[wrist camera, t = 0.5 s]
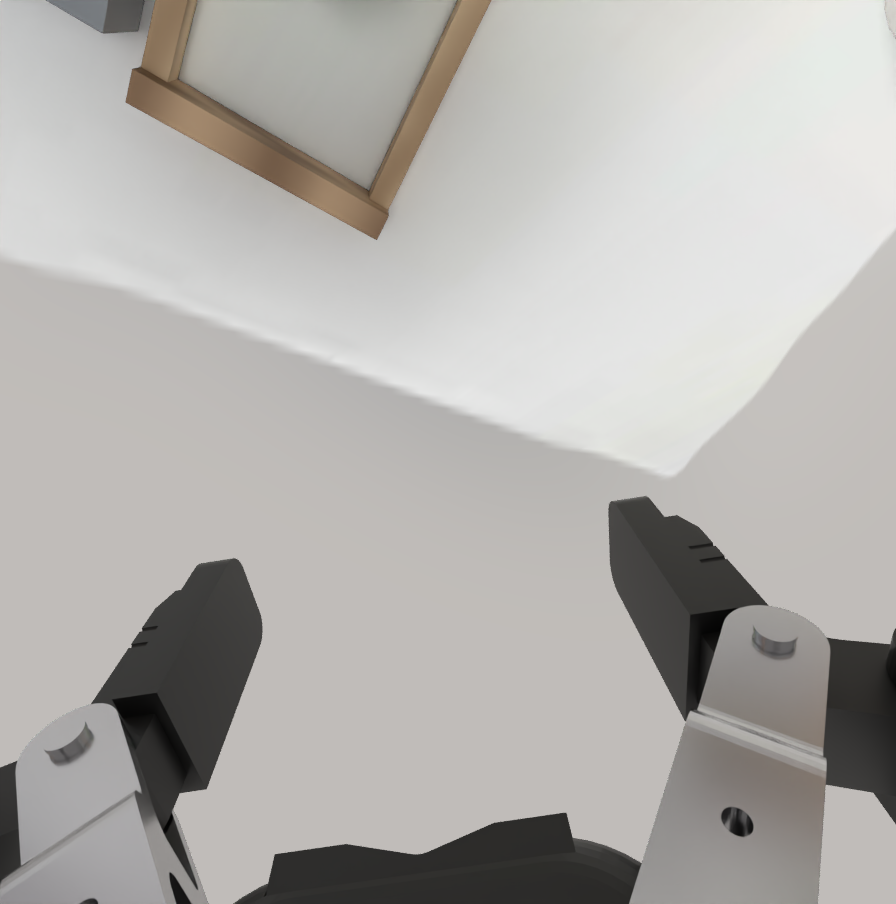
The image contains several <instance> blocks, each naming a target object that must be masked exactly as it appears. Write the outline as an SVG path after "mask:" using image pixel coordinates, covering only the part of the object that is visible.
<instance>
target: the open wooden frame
mask: <svg viewBox="0 0 896 904" xmlns="http://www.w3.org/2000/svg"><path fill="white" fill-rule="evenodd" d="M490 2H491V0H458V1H457V3H456V5H455V7H454V10H453V12H452V14H451V16H450V18H449V20H448V22H447V25H446V27H445V29H444V31H443V33H442V35H441V38H440V40H439V42H438V44H437V46H436V48H435V50H434V53H433V55H432V57H431V59H430V61H429V63H428V65H427V68H426V70H425V72H424V74H423V76H422V78H421V81H420V83H419V85H418V87H417V89H416V91H415V93H414V96H413V98H412V100H411V102H410V104H409V106H408V109H407V111H406V113H405V115H404V117H403V119H402V121H401V124H400V126H399V128H398V130H397V132H396V134H395V137H394V139H393V141H392V143H391V145H390V147H389V149H388V152H387V154H386V156H385V158H384V160H383V162H382V164H381V167H380V169H379V171H378V173H377V175H376V177H375V180H374V182H373V184H372V186H371V188H370V190H369V191H368V190H366V189H365V188H363V187H361V186H359V185H358V184H356V183H354V182H353V181H351V180H349V179H347V178H346V177H344V176H342V175H341V174H339V173H337V172H336V171H334V170H332V169H330V168H329V167H327V166H325V165H324V164H322V163H320V162H318V161H317V160H315V159H313V158H312V157H310V156H308V155H306V154H305V153H303V152H301V151H300V150H298V149H296V148H294V147H293V146H291V145H289V144H288V143H286V142H284V141H283V140H281V139H279V138H277V137H276V136H274V135H272V134H271V133H269V132H267V131H265V130H264V129H262V128H260V127H259V126H257V125H255V124H253V123H252V122H250V121H248V120H247V119H245V118H243V117H241V116H240V115H238V114H236V113H235V112H233V111H231V110H230V109H228V108H226V107H224V106H223V105H221V104H219V103H218V102H216V101H214V100H212V99H211V98H209V97H207V96H206V95H204V94H202V93H200V92H199V91H197V90H195V89H194V88H192V87H190V86H189V85H187V84H185V83H183V82H182V81H180V80H178V76H179V72H180V68H181V64H182V60H183V56H184V52H185V48H186V44H187V40H188V36H189V32H190V28H191V24H192V20H193V16H194V12H195V8H196V4H197V0H155V4H154V9H153V13H152V18H151V23H150V27H149V32H148V37H147V41H146V46H145V51H144V55H143V60H142V65H141V67H139V68H134V69H132V73H131V78H130V83H129V88H128V93H127V97H126V103H128V104H130V105H131V106H133V107H135V108H137V109H139V110H140V111H142V112H144V113H146V114H148V115H150V116H151V117H153V118H155V119H157V120H159V121H161V122H162V123H164V124H166V125H168V126H170V127H171V128H173V129H175V130H177V131H179V132H181V133H182V134H184V135H186V136H188V137H190V138H192V139H193V140H195V141H197V142H199V143H201V144H202V145H204V146H206V147H208V148H210V149H212V150H213V151H215V152H217V153H219V154H221V155H223V156H224V157H226V158H228V159H230V160H232V161H233V162H235V163H237V164H239V165H241V166H243V167H244V168H246V169H248V170H250V171H252V172H254V173H255V174H257V175H259V176H261V177H263V178H264V179H266V180H268V181H270V182H272V183H274V184H275V185H277V186H279V187H281V188H283V189H285V190H286V191H288V192H290V193H292V194H294V195H295V196H297V197H299V198H301V199H303V200H305V201H306V202H308V203H310V204H312V205H314V206H316V207H317V208H319V209H321V210H323V211H325V212H326V213H328V214H330V215H332V216H334V217H336V218H337V219H339V220H341V221H343V222H345V223H347V224H348V225H350V226H352V227H354V228H356V229H357V230H359V231H361V232H363V233H365V234H367V235H368V236H370V237H372V238H374V239H376V240H377V238H378V236H379V234H380V232H381V230H382V228H383V226H384V224H385V222H386V220H387V218H388V216H389V215H388V209H389V207H390V205H391V203H392V201H393V199H394V197H395V195H396V193H397V191H398V189H399V187H400V185H401V183H402V181H403V179H404V177H405V175H406V173H407V170H408V168H409V166H410V164H411V162H412V160H413V158H414V156H415V154H416V152H417V150H418V148H419V146H420V144H421V142H422V140H423V138H424V136H425V134H426V132H427V130H428V128H429V126H430V124H431V122H432V120H433V118H434V116H435V114H436V112H437V110H438V108H439V105H440V103H441V101H442V99H443V97H444V95H445V93H446V91H447V89H448V87H449V85H450V83H451V81H452V79H453V77H454V75H455V73H456V71H457V69H458V67H459V65H460V63H461V61H462V59H463V57H464V55H465V53H466V51H467V49H468V47H469V45H470V43H471V40H472V38H473V36H474V34H475V32H476V30H477V28H478V26H479V24H480V22H481V20H482V18H483V16H484V14H485V12H486V10H487V8H488V6H489V4H490Z"/></svg>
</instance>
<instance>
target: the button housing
mask: <svg viewBox="0 0 896 904" xmlns="http://www.w3.org/2000/svg"><path fill="white" fill-rule="evenodd" d="M46 1H48V2H50V3H51V4H53V5H55V6H57V7H58V8H60V9H62V10H63V11H65V12H67V13H68V14H70V15H72V16H74V17H75V18H77V19H79V20H80V21H82V22H84V23H86V24H87V25H89V26H91V27H92V28H94V29H96V30H97V31H99V32H101V33H118V32H134V31H138V28H139V23H140V18H141V13H142V8H143V4H144V0H46Z"/></svg>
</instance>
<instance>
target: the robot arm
mask: <svg viewBox="0 0 896 904" xmlns="http://www.w3.org/2000/svg"><path fill="white" fill-rule="evenodd" d="M609 544H610V566H611V572H612V576H613V581H614V584H615V587H616V589H617V592H618V594H619V595H620V597H621V599H622V601H623V603H624V605H625V607H626V609H627V611H628V613H629V615H630V617H631V618H632V620H633V622H634V624H635V626H636V628H637V630H638V632H639V634H640V636H641V638H642V640H643V641H644V643H645V645H646V647H647V649H648V651H649V653H650V655H651V657H652V659H653V660H654V663H655V664H656V666H657V668H658V670H659V672H660V674H661V676H662V678H663V680H664V682H665V684H666V686H667V687H668V689H669V691H670V693H671V695H672V697H673V699H674V701H675V703H676V705H677V707H678V709H679V710H680V712H681V714H682V716H683V718H684V720H685V721H686V723H685V726H684V729H683V733H682V736H681V739H680V742H679V745H678V749H677V752H676V755H675V758H674V761H673V765H672V768H671V771H670V774H669V777H668V781H667V784H666V787H665V790H664V793H663V797H662V800H661V803H660V806H659V809H658V813H657V816H656V819H655V822H654V825H653V829H652V832H651V835H650V838H649V841H648V845H647V848H646V851H645V854H644V857H643V861H642V863H640V862H638V861H637V860H635V859H633V858H631V857H630V856H628V855H626V854H624V853H622V852H620V851H617V850H615V849H612V848H610V847H607V846H605V845H602V844H598V843H595V842H591V841H588V840H582V839H576V838H572V834H571V830H570V826H569V822H568V818H567V814H566V813H560V814H553V815H546V816H539V817H533V818H525V819H518V820H512V821H504V822H498V823H493V824H491V825H488V826H486V827H484V828H482V829H479V830H477V831H475V832H472V833H470V834H468V835H466V836H463V837H461V838H459V839H457V840H454V841H452V842H450V843H447V844H445V845H443V846H440V847H438V848H436V849H434V850H431V851H429V852H427V853H424V854H418V855H413V854H406V853H400V852H393V851H387V850H380V849H373V848H367V847H361V846H354V845H348V844H344V845H337V846H330V847H323V848H316V849H310V850H302V851H295V852H288V853H281V854H275V856H274V861H273V865H272V869H271V874H270V878H269V882H268V884H266V885H264V886H261V887H259V888H258V889H256V890H254V891H253V892H251V893H249V894H247V895H246V896H244V897H242V898H241V899H239V900H238V901H237V902H235V903H234V904H818V894H819V877H820V863H821V848H822V832H823V817H824V802H825V786H826V785H832V786H838V787H844V788H849V789H856V790H862V791H867V792H873V793H874V794H875V795H876V797H877V798H878V800H879V801H880V803H881V804H882V805H883V807H884V808H885V810H886V811H887V812H888V814H889V815H890V817H891V818H892V819H893V821H894V822H895V824H896V629H895V631H894V633H893V636H892V641H891V644H880V643H869V642H858V641H847V640H838V639H831V638H827V637H826V636H825V635H824V633H823V632H822V631H821V630H820V629H819V628H818V627H817V626H816V625H814V624H813V623H812V622H810V621H809V620H807V619H806V618H804V617H802V616H800V615H798V614H796V613H794V612H791V611H789V610H785V609H782V608H778V607H773V606H768V605H767V603H766V602H765V601H764V600H763V599H762V598H761V597H760V595H759V594H757V592H756V591H755V590H754V589H753V588H752V586H751V585H750V584H749V583H748V582H747V581H746V580H745V579H744V578H743V576H742V575H741V574H740V573H739V572H738V571H737V570H736V568H735V567H734V566H733V565H732V564H731V563H730V562H729V561H728V560H727V559H725V558H724V555H723V554H722V553H721V552H720V550H719V549H718V548H717V547H716V546H713V543H712V541H711V540H710V539H709V538H708V537H707V536H706V535H705V534H704V532H703V531H702V530H701V529H700V528H699V527H698V526H696V525H694V524H692V523H690V522H688V521H686V520H685V519H683V518H681V517H679V516H677V515H676V516H669V517H664V516H663V515H662V514H661V512H660V511H659V510H658V509H657V508H656V506H655V505H654V504H653V502H652V501H651V500H650V499H649V498H648V497H646V496H644V497H637V498H630V499H624V500H617V501H611V502H610V504H609ZM261 639H262V619H261V615H260V612H259V609H258V607H257V604H256V601H255V598H254V596H253V593H252V591H251V588H250V585H249V583H248V580H247V577H246V574H245V572H244V569H243V567H242V565H241V563H240V562H239V560H237V559H227V560H221V561H214V562H208V563H201V564H199V565H197V566H196V568H195V569H194V571H193V572H192V574H191V576H190V577H189V579H188V580H187V582H186V583H185V585H184V587H183V588H182V590H178V591H175V592H174V593H173V594H172V595H171V596H169V597H168V598H167V599H166V600H165V601H164V602H162V603H161V604H160V605H159V606H158V607H157V608H156V609H155V610H154V611H153V613H152V614H151V616H150V617H149V619H148V620H147V622H146V623H145V625H144V626H143V628H142V632H139V634H138V635H137V636H136V638H135V639H134V641H133V643H132V644H131V645H132V648H128V650H127V652H126V653H125V655H124V656H123V657H122V659H121V660H120V662H119V663H118V665H117V666H116V668H115V669H114V671H113V672H112V674H111V675H110V677H109V678H108V680H107V681H106V683H105V684H104V686H103V687H102V689H101V690H100V692H99V693H98V695H97V696H96V698H95V699H94V700H93V702H92V703H91V704H90V705H86V706H83V707H80V708H77V709H75V710H73V711H71V712H68V713H66V714H65V715H63V716H61V717H59V718H58V719H56V720H55V721H53V722H52V723H50V724H49V725H47V726H46V727H45V728H44V729H43V730H42V731H40V732H39V733H38V734H37V735H36V736H35V737H34V738H33V739H32V740H31V741H30V742H29V744H28V745H27V746H26V747H25V749H24V750H23V752H22V753H21V755H20V757H19V759H18V761H16V762H13V763H11V764H8V765H6V766H3V767H1V768H0V904H209V903H208V901H207V898H206V895H205V893H204V890H203V887H202V884H201V881H200V879H199V876H198V873H197V870H196V867H195V865H194V862H193V859H192V856H191V854H190V851H189V848H188V845H187V842H186V840H185V837H184V834H183V831H182V828H181V826H180V823H179V820H178V818H177V816H176V814H175V813H174V811H173V808H174V805H175V803H176V801H177V798H178V796H179V793H184V792H190V791H197V790H204V789H207V786H208V784H209V781H210V778H211V775H212V773H213V770H214V768H215V765H216V762H217V760H218V757H219V754H220V752H221V749H222V746H223V743H224V741H225V738H226V735H227V733H228V730H229V727H230V725H231V722H232V719H233V717H234V714H235V711H236V709H237V706H238V703H239V700H240V697H241V694H242V692H243V690H244V687H245V684H246V682H247V679H248V676H249V673H250V671H251V668H252V666H253V663H254V660H255V658H256V655H257V652H258V649H259V647H260V644H261Z"/></svg>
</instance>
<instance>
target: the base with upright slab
mask: <svg viewBox="0 0 896 904" xmlns="http://www.w3.org/2000/svg"><path fill="white" fill-rule="evenodd" d="M885 13H886V17H887V21H888V26H889V29H890V31H891V32H892V34H893V35H894V36H895V38H896V0H885Z"/></svg>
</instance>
